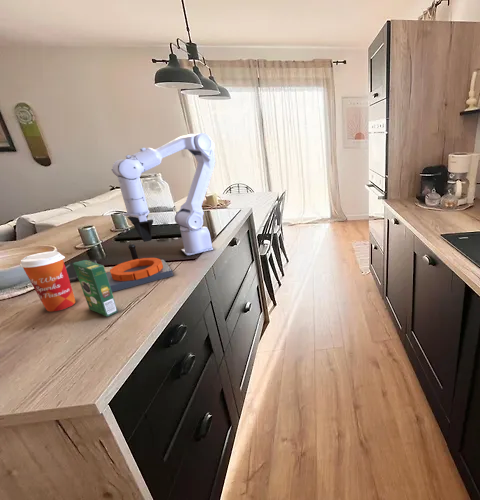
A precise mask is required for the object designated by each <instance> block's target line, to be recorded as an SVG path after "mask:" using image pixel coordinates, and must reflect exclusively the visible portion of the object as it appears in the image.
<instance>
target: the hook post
mask: <svg viewBox="0 0 480 500" xmlns="http://www.w3.org/2000/svg"><path fill="white" fill-rule="evenodd" d="M127 247H128V249H129V253H130V256H131V260H135V259H139V256H138V251H137V248H136V244H134V243H130V244H128V245H127Z"/></svg>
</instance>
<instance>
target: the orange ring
mask: <svg viewBox="0 0 480 500" xmlns="http://www.w3.org/2000/svg"><path fill="white" fill-rule="evenodd" d="M161 260H162V259H160V258H159V257H158V258H157V257H140V258H138V259H135V260H133V259H131V260H127V261H123V262H120V263H118V264H116V265H115V266H113V267H112V268H110V269H109V272H111V275H112V278H113V279H114V280H117V281H131V280H135V279H136V280H137V279H141V278H145V277H148V276H151V275H153V274H156V273H158V272H159V271H160V270H161V269H162V268H163V264H162V261H161ZM147 265H149V266H150V267H148V268H145V269H142V270H138V271H133V272H124V271H126V270H128V269H131V268H134V267H139V266H147Z"/></svg>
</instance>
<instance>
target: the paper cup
mask: <svg viewBox="0 0 480 500" xmlns="http://www.w3.org/2000/svg"><path fill="white" fill-rule="evenodd" d="M65 258H66V256H64V255H63V254H62V253H60V252H59V251H55V250H53V251H52V250H51V251H44V252H38V253H33V254H30V255H26V256H25V257H23V258H22V259H20V264H19V267H20V268H22V269H23V270H24V273H25V274H26V276H27V278H28V280H29V281H30V283H31V285H32V287H33V289H34V290H35V293H36V294H37V295H38V298H39V300H40V302H41V303H42V305H43V307H44V308H45V310H46V311H47V312H58V311H63V310H65V309H68V308H70V307H72V306H74V304H76V297H75V295H74V291H73V288H72V287H73V286H72V283H71V282H70V280H69V277H68V274H67V270H66V267H65V266H66V265H65V261H64V259H65Z"/></svg>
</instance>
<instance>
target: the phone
mask: <svg viewBox="0 0 480 500" xmlns="http://www.w3.org/2000/svg"><path fill="white" fill-rule="evenodd" d="M89 261H91V262H94V263H97V260H96V259H90V260H89ZM73 263H74V262H70V263H67V264H66V265H65V267H66V270H67V274H68V277H69V280H70V283H71V282H79V279H78V276H77V274H76V271H75V268H74V266H73ZM97 264H98V263H97Z"/></svg>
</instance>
